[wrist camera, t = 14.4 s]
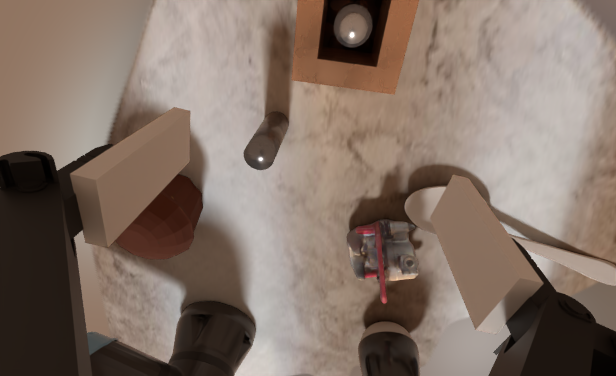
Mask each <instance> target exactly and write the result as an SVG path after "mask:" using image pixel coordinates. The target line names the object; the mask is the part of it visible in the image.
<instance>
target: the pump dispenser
mask: <svg viewBox="0 0 616 376" xmlns="http://www.w3.org/2000/svg"><path fill="white" fill-rule="evenodd" d="M358 354H359V362H360V367H361V372H362V376H420V361H419V352H418V347H417V345H416V343H415V342H414V341H413V339H412V337H411V335H410V334H409V333H408V331H407V330H406V329H405V328H403V327H402V326H400V325H398V324H396V323H393V322H387V321H383V322H377V323H374V324H372V325H371V326H369V327H368V328H367V329H366V330H365V332H364V333H363V335H362V338H361V341H360V343H359V346H358Z"/></svg>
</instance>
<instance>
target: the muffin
mask: <svg viewBox="0 0 616 376" xmlns="http://www.w3.org/2000/svg"><path fill="white" fill-rule="evenodd" d="M201 197H202V193H201V192H200V191H199V190H198V189H197V188H196V187H195V185H194V184H193V183H192V181H191V180H190V178H188V177H185V176H182V175H179V174H177V175H176V176H175V177H174V178H173V179H172V180H171V182H170V183H169V184H168V185H167V186H166V187H165V188H164V189H163V190H162V191H161V192H160V193H159V194H158V195H157V196H156V197H155V198H154V200H153V201H152V202H151V203H150V204H149V205H148V206H147V207H146V208H145V209H144V210H143V211H142V212H141V213H140V214H139V215H138V216H137V218H136V219H135V220H134V221H133V222H132V223H131V224H130V225H129V226H128V227H127V228H126V229H125V230H124V231H123V232H122V233H121V234H120V236H119V237H118V238H117V239H116V240H115V241H116V242H117V243H118V244H119V245H120V246H121V247H122V248H124V249H126V250H127V251H129V252H130V253H132V254H134V255H137V256H140V257H144V258H147V259H167V258H171V257H173V256H176V255H178V254H180V253H182V252H184V251H186V250H188V249H189V247H190V245H191V243H192V241H193V239H194V233H193V232H194V230H195V227H196V225H197V222H198V219H199V217H200V214H201V212H202V209H203V206H202V201H201Z"/></svg>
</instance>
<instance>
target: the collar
mask: <svg viewBox="0 0 616 376" xmlns="http://www.w3.org/2000/svg"><path fill="white" fill-rule="evenodd" d="M418 2H419V0H382V3H381V8H380V12H379V17H378V22H377V27H376V32H375V37H374V42H373V47H372V51H371V53H365V52H358V51H351V50H343V49H336V48H328V47H323V40H324V32H325V24H326V16H327V8H328V0H298V5H297V18H296V31H295V44H294V57H293V70H292V80H294V81H301V82H308V83H316V84H323V85H330V86H337V87H344V88H351V89H358V90H366V91H373V92H380V93H387V94H395V90H396V87H397V83H398V79H399V75H400V71H401V68H402V64H403V60H404V56H405V52H406V48H407V45H408V41H409V37H410V33H411V29H412V25H413V22H414V18H415V14H416V10H417V6H418Z"/></svg>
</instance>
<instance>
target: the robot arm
mask: <svg viewBox="0 0 616 376" xmlns="http://www.w3.org/2000/svg"><path fill="white" fill-rule="evenodd" d="M189 161H190V111H188V110H184V109H180V108H176V107H174V108H172V109H171V110H169V111H168V112H166V113H165V114H163V115H161V116H160V117H158V118H157V119H155V120H154V121H152V122H150V123H149V124H147V125H146V126H144V127H143V128H141V129H139V130H138V131H136V132H135V133H133V134H132V135H130V136H128V137H127V138H125V139H124V140H122V141H121V142H119V143H118V144H116V145H112V144H108V145H104V146H101V147H97V148H95V149H93V150H91V151H90V152H88V153H86V154H85V156H84V155H83V156H81V157H80V158H78V159H77V161H73V162H71V163H70V164H68V165H66V166H65V167H63V168H61V169H60V170H58V171H57V170H56V166H55V162H54V159H53V157H52V156H51V155H49V154H47V153H45V152H39V151H21V152H13V153H10V154H6V155H3V156H1V157H0V376H234V375H235V372H236V371H237V369H238V368H239V366H240V364H241V363H242V361H243V360H244V358H245V357H246V355H247V354H248V352H249V351H250V349H251V347H252V345H253V341H254V338H255V333H256V330H255V326H254V324H253V323H252V321H251V320H250V319H249V318H248V317H247V316H246V315H245V314H244V313H242V312H241V311H239V310H237V309H236V308H234V307H231V306H229V305H226V304H222V303H217V302H198V303H194V304H191V305H189V306H188V307H187V308H185V310H184V311H183V313H182V315H181V317H180V319H179V321H178V324H177V329H176V335H175V342H174V348H173V354H172V356H171V359H170V361H169V363H168V364H167V363H165V362H163V361H161V360H159V359H156V358H154V357H152V356H150V355H148V354H146V353H143V352H141V351H139V350H137V349H135V348H133V347H130V346H128V345H126V344H124V343H122V342H120V341H118V339H116V338H110V337H107V336H104V335H102V334H99V333H97V332H89V333H87V331H86V323H85V315H84V308H83V300H82V292H81V284H80V276H79V269H78V261H77V253H76V246H75V242H74V237H75V236H76V235H77V234H78V233H79V232H80V231H82V230H83V234H84V238H85V242H86V243H89V244H93V245H98V246H102V247H107V248H108V247H109V246H110V245H111V244H112V243H113V242H114V241H115V240H116V239H117V238H118V237H119V236H120V234H121V233H122V232H123V231H124V230H125V229H126V228H127V227H128V226H129V225H130V224H131V223H132V222H133V221H134V220H135V219H136V218H137V216H138V215H139V214H140V213H141V212H142V211H143V210H144V209H145V208H146V207H147V206H148V205H149V204H150V203H151V202H152V201H153V200H154V198H155V197H156V196H157V195H158V194H159V193H160V192H161V191H162V190H163V189H164V188H165V187H166V186H167V185H168V184H169V183H170V182H171V180H172V179H173V178H174V177H175V176H176V175H177V174H178V173H179V172H180V171H181V170H182V169H183V168H184V167H185V166H186V165H187V164H188V163H189ZM430 219H431V222H432V224H433V227H434V229H435V232H436V234H437V237H438V239H439V241H440V244H441V246H442V249H443V251H444V254H445V256H446V259H447V261H448V264H449V266H450V268H451V271H452V273H453V276H454V278H455V281H456V283H457V286H458V288H459V291H460V293H461V295H462V298H463V300H464V303H465V305H466V308H467V310H468V313H469V315H470V318H471V320H472V322H473V325H474V327H475V330H478V331H482V332H487V333H491V334H497V333H498V332H499V331H500V330H501V329H502V328H503V327H504V326H505V325H507V327H508V329H509V331H510V333H511V335H510V336H509V337H508V338H507V339H506V340H505V341H504V342H503V343H502V344H501V345H500V346H499V347H498V348H497V349H496V350H495V351H494V353H495V354H496V355H497V354H498V353H499V354H498V356H497V359H496V361H495V363H494V365H493V367H492V369H491V372H490V374H489V376H616V331H613V330H611V329H609V328H606V327H604V326H602V325H600V324H598V323H596V320H595V318H594V317H593V315H592V314H591V312H590V311H589V310H587V308H586V307H584V306H583V305H582V304H581V303H579V302H578V301H576V300H575V299H573V298H572V297H570V296H568V295H566V294H562V293H559V292H556V290H555V289H554V287H553V286H552V285H551V283H550V282H549V281H548V279H547V278H546V277H545V275H544V274H543V273H542V271H541V270H540V269H539V267H537V265H536V263H535V262H534V260H533V259H531V256H530V255H529V254H528V252H527V251H526V250H525V248H524V247H523V246H522V245H520V244H519V243H518V242H517V241H516V240H515V239H514V238H511V237H510V236H509V234H508V233H507V231H506V230H505V229H504V227H503V226H502V224H501V223H500V222H499V220H498V219H497V217H496V216H495V215H494V213H493V212H492V210H491V209H490V208H489V206H488V205H487V203H486V202H485V201H484V199H483V198H482V196H481V195H480V194H479V192H478V191H477V189H476V188H475V187H474V185H473V184H472V183H471V181H470V180H469V178H466V177H462V176H458V175H454V174H453V176H452V178H451V180H450V182H449V184H448V185H447V187H446V189H445V191H444V193H443V195H442V196H441V198H440V200H439V202H438V204H437V206H436V208H435V209H434V211H433V213H432V215H431V217H430Z"/></svg>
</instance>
